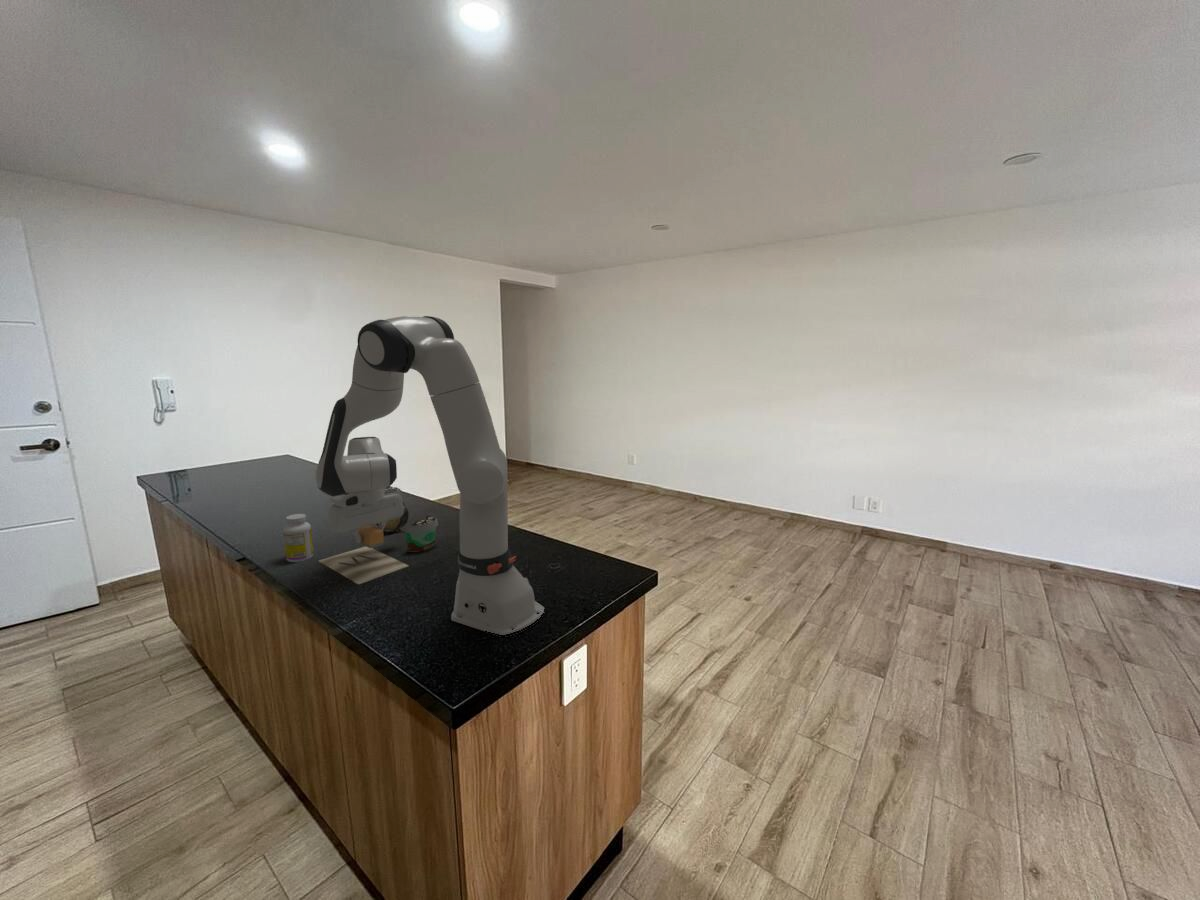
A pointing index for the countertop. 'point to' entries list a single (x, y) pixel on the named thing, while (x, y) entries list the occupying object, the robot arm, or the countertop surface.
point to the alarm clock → (396, 521)
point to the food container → (421, 534)
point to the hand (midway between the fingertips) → (369, 539)
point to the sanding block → (371, 536)
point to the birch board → (363, 564)
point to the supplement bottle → (298, 538)
